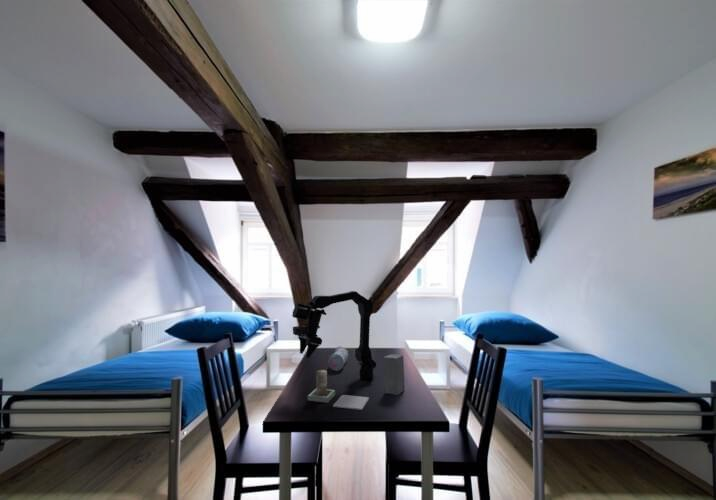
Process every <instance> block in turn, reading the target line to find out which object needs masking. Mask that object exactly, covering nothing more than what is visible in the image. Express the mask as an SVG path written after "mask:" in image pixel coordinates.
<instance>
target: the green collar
mask: <svg viewBox="0 0 716 500" xmlns="http://www.w3.org/2000/svg"><path fill="white" fill-rule="evenodd" d="M335 395H336V390H335V389H328V388H327V396H316V388H315V389H313V390H312V392H310V393H309V394H308V395H307V401H309V402H319V403H326V404H329V402H330V401H331V400H332V399H333V398H334V397H335Z"/></svg>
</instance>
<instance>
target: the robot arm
mask: <svg viewBox="0 0 716 500" xmlns="http://www.w3.org/2000/svg"><path fill="white" fill-rule="evenodd" d="M347 301H348V302H349V301H353V302H354V303H355V304H356V305H357V310H358V314H359V316H360V323H359V344H358V348H355V349H354V350H355V351H354V353H355V355H354V357H355V360H356V361H357V362H358V365H360V369H359V380H360V381H368V382H369V381H370V382H373V380H375V378H376V376H375V368H376V366H377V362H376V361H375V360H373V356H372V350H371V348H370V327H371V326H370V324H371V321H370V320H371V316H372V314H373V313H374V306H375V305H374V302H373V301H372V300H371V299H368V298H366V297H365V296H363V295H361V294H360V293H359V292H358V291H355V290H351V291H348V292H343V293H338V294H337V293H336V294H333V295H314V296H313V297H312V299H311V301H310V302H308V303H307V304H302V303H300V302H297V303H296V305H295V307H294V308H293V310H292V318H294V319H299V320H303V321H306V319H307V321H306V322H304V325H296V326H292V334H293V335H294V336H297V339H298V341H299V354H303V353H304V352H305V350H306V355H305V357H306V359H309V358H310V357H311V356H312V355H313V353H314V352H315V351H316V349H318V348H319V347H320V346H321V345H322V343H323V340H322V338H321V337H320V336H318V334H317V333H318V330H319V329H320V328H321V326H320V323H321V320H322V315H324V316H326V315H327V313H326V311H325V309H324V308H326V307H330V306H331V305H332V304H333V305H334V304H337V303H341V302H347ZM306 348H307V349H306Z"/></svg>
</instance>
